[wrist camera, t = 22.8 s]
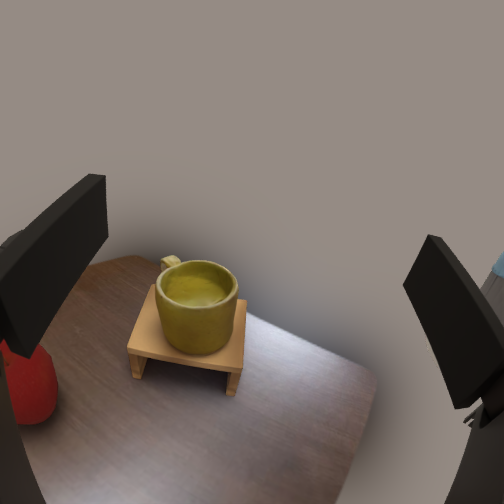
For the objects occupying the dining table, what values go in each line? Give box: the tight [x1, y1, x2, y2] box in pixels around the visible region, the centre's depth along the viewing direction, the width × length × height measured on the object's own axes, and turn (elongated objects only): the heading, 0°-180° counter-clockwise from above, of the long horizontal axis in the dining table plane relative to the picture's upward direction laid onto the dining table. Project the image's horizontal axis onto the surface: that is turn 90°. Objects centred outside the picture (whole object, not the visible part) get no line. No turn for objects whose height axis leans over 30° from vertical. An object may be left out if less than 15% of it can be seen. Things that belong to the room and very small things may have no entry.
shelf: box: [127, 284, 247, 396], centre depth 41 cm, size 14×12×7 cm
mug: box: [155, 255, 239, 355], centre depth 37 cm, size 12×10×10 cm
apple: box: [0, 339, 58, 425], centre depth 26 cm, size 11×11×12 cm
